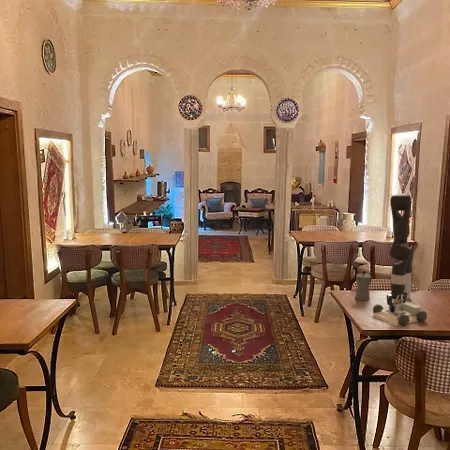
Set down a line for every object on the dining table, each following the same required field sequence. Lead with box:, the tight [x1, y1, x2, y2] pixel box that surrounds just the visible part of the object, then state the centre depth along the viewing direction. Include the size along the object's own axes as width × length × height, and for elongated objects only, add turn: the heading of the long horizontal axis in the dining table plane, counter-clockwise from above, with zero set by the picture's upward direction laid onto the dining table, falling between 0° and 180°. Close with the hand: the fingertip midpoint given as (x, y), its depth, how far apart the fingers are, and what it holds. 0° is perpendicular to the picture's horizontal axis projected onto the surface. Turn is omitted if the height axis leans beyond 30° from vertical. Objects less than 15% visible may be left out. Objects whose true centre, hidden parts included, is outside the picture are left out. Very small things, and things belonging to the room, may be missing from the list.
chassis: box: [372, 300, 428, 327], centre depth 247 cm, size 22×20×7 cm
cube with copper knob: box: [387, 300, 404, 315], centre depth 245 cm, size 6×6×7 cm
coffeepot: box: [354, 270, 373, 301], centre depth 280 cm, size 15×9×18 cm, turn 128°
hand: (395, 311), depth 245 cm, fingers closed on cube with copper knob, 5 cm apart
